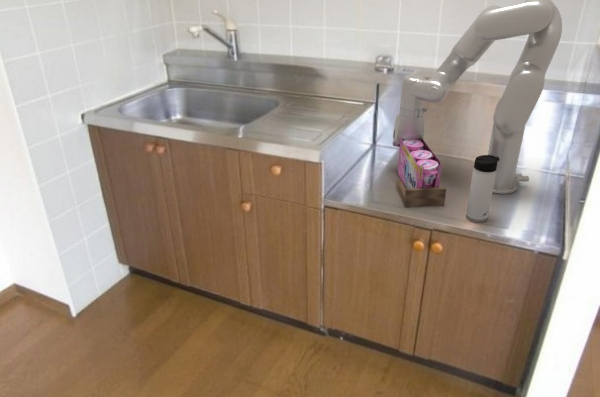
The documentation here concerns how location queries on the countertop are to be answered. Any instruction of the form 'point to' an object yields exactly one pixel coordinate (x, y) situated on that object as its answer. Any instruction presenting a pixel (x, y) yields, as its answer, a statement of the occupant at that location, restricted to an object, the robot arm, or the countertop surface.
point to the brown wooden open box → (421, 195)
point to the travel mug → (481, 188)
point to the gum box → (418, 165)
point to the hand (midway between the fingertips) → (406, 160)
